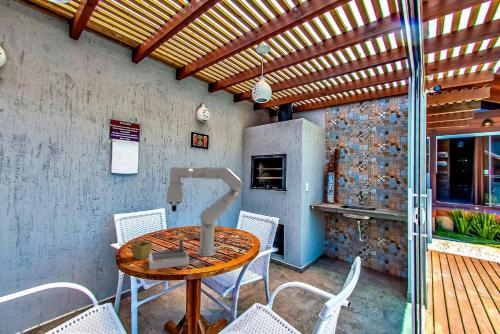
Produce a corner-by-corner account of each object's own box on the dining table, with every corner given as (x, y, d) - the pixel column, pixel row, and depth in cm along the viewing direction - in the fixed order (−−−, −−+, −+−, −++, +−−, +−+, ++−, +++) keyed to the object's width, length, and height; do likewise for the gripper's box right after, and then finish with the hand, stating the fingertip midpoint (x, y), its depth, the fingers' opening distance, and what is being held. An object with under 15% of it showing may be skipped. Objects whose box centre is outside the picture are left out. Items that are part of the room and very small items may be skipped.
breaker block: (184, 256, 147) (185, 246, 147) (189, 264, 134) (189, 253, 135) (148, 261, 136) (149, 251, 137) (149, 270, 124) (150, 258, 124)
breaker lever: (182, 252, 142) (183, 233, 143) (184, 255, 137) (185, 235, 138) (176, 253, 140) (177, 233, 141) (177, 256, 135) (178, 236, 136)
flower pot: (141, 254, 147) (142, 241, 148) (151, 256, 144) (152, 243, 145) (130, 259, 139) (130, 244, 140) (140, 261, 136) (141, 246, 136)
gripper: (185, 184, 160) (183, 210, 159) (163, 184, 153) (161, 211, 152) (187, 185, 153) (186, 211, 152) (164, 184, 146) (163, 212, 145)
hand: (173, 211), depth 152 cm, fingers closed
